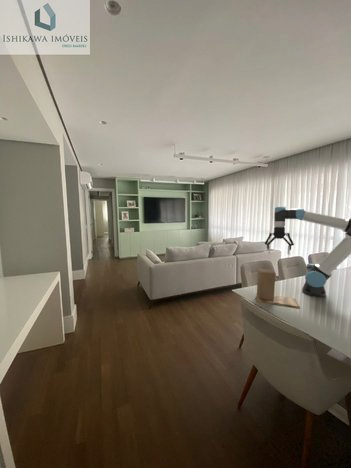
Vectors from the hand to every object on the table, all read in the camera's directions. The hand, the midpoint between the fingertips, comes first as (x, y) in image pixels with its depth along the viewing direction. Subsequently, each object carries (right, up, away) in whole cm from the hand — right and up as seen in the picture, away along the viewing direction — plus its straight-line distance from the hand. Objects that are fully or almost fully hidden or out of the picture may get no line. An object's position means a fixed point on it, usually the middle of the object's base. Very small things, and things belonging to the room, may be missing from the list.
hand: (278, 253), depth 152 cm
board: (-9, -32, -14) cm, 36 cm away
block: (-16, -31, -11) cm, 36 cm away
